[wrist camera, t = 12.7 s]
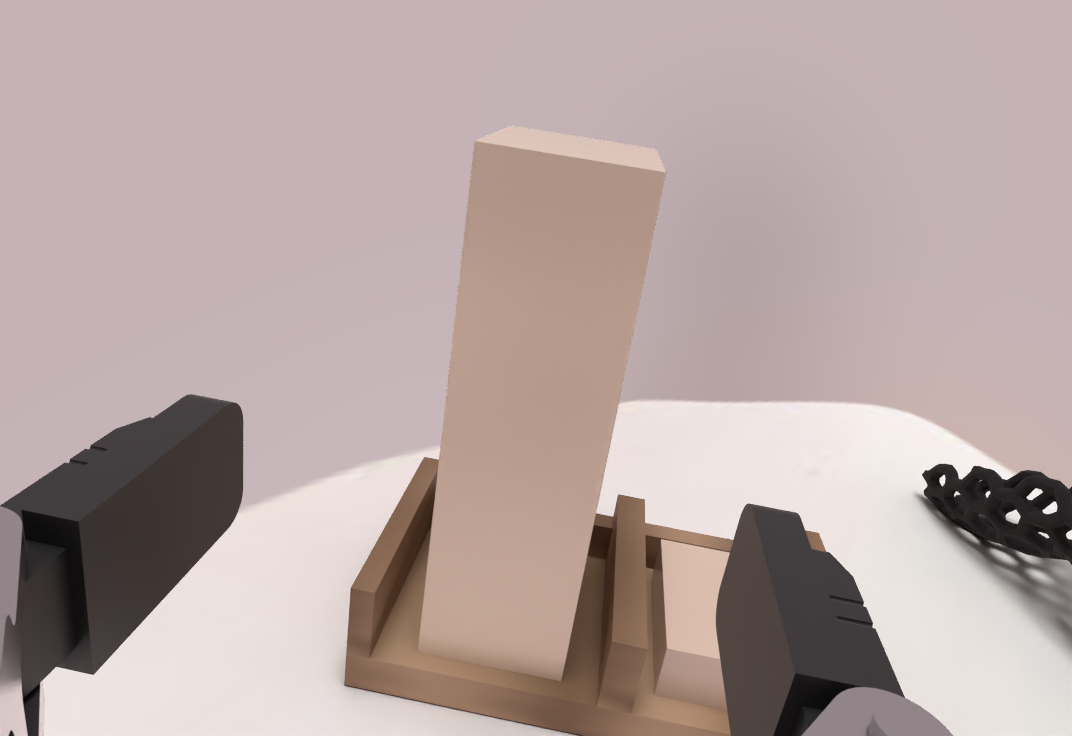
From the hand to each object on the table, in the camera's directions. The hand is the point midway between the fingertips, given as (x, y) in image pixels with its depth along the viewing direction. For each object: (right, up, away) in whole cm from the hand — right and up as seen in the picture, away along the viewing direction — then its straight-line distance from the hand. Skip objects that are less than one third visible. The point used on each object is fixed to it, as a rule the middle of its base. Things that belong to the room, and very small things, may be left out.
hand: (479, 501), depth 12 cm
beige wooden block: (0, -6, +14) cm, 15 cm away
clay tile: (+7, -7, +13) cm, 17 cm away
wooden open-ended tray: (+3, -7, +14) cm, 16 cm away
